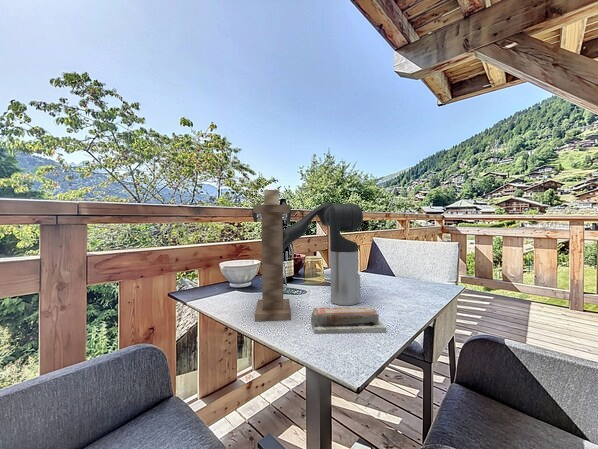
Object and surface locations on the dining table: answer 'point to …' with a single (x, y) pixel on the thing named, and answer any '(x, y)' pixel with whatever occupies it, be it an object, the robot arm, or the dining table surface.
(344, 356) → the dining table surface
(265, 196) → the beige wooden bar
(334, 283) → the robot arm
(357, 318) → the red and grey block
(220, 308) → the dining table surface
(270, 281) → the stand
